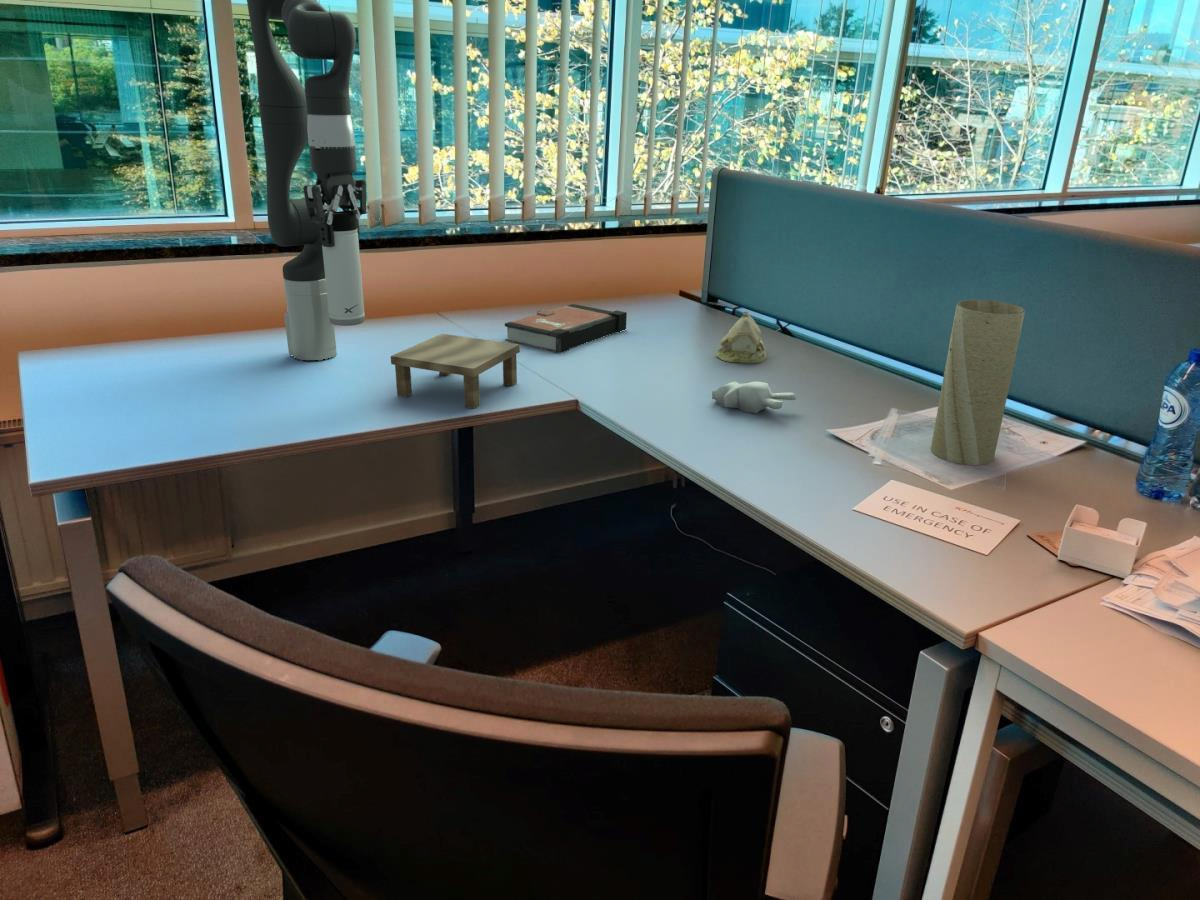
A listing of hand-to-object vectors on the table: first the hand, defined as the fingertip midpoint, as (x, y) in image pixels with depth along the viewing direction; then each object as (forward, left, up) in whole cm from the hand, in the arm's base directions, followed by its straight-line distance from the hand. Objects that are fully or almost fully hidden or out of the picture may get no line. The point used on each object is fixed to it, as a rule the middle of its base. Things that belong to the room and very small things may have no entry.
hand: (341, 243), depth 153 cm
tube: (+107, +22, -30) cm, 113 cm away
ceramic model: (+59, +63, -30) cm, 91 cm away
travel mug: (0, 0, -14) cm, 14 cm away
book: (+16, +61, -30) cm, 70 cm away
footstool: (+14, +14, -29) cm, 35 cm away
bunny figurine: (+69, +28, -30) cm, 81 cm away
